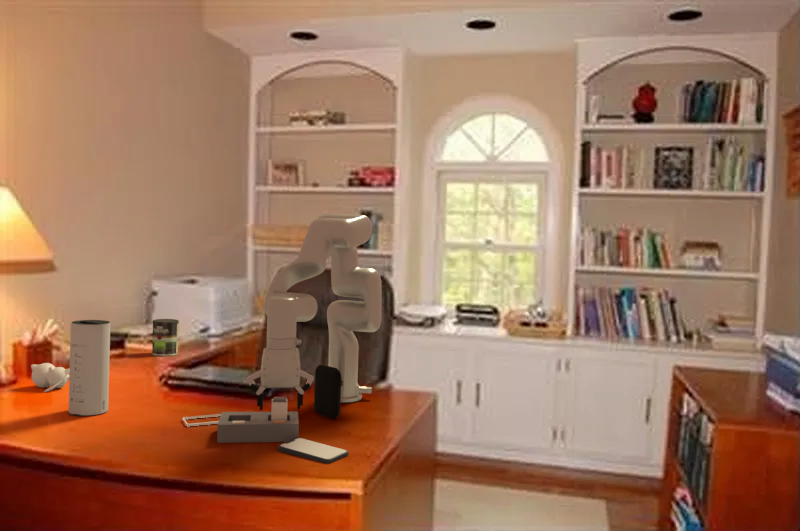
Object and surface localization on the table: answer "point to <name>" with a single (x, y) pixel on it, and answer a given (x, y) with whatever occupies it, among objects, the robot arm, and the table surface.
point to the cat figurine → (49, 376)
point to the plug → (279, 408)
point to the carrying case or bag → (327, 391)
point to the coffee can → (165, 337)
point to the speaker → (89, 367)
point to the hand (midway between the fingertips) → (280, 408)
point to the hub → (256, 427)
